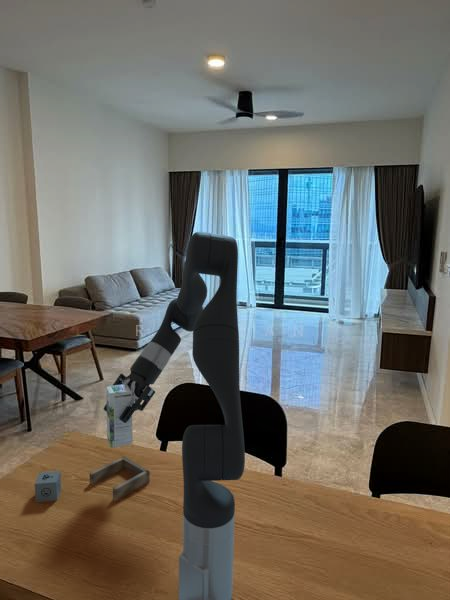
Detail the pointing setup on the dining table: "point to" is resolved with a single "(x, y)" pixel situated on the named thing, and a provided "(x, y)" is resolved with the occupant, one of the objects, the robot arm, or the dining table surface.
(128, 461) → the frame
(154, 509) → the dining table surface
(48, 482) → the dice cube
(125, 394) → the syrup box
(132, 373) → the robot arm
